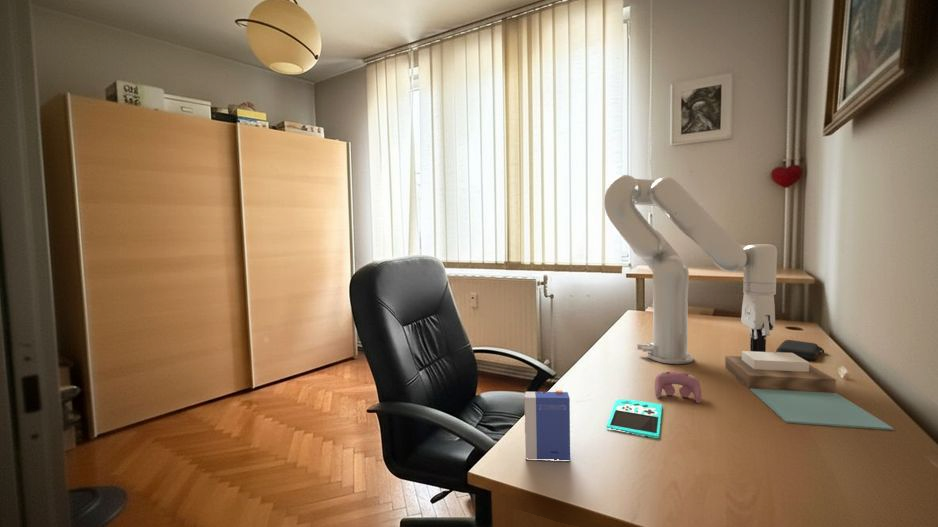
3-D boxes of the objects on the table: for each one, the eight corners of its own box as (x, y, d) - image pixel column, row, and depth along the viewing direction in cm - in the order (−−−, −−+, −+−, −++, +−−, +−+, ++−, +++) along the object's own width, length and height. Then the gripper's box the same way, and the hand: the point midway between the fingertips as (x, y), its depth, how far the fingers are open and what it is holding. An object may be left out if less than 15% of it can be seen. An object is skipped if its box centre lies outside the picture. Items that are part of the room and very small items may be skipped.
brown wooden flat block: (749, 389, 101) (749, 375, 101) (725, 367, 117) (725, 355, 116) (835, 393, 97) (835, 379, 97) (798, 371, 112) (799, 358, 112)
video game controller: (700, 405, 97) (699, 375, 99) (702, 403, 93) (701, 372, 95) (654, 399, 101) (654, 370, 103) (654, 397, 97) (654, 367, 99)
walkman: (568, 453, 75) (567, 390, 74) (570, 462, 72) (569, 396, 71) (524, 452, 76) (523, 389, 75) (525, 460, 73) (523, 395, 72)
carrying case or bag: (820, 364, 118) (825, 352, 128) (820, 354, 118) (825, 343, 128) (774, 357, 126) (783, 346, 136) (775, 347, 125) (783, 337, 136)
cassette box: (754, 369, 105) (754, 360, 105) (741, 359, 113) (741, 351, 113) (808, 371, 102) (809, 362, 102) (792, 361, 110) (792, 352, 110)
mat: (786, 422, 84) (786, 420, 84) (749, 389, 101) (749, 388, 101) (893, 430, 79) (893, 428, 79) (836, 394, 96) (836, 393, 96)
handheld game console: (663, 409, 93) (663, 403, 93) (660, 442, 79) (660, 435, 79) (616, 402, 97) (616, 396, 97) (605, 432, 83) (605, 425, 83)
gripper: (733, 284, 123) (732, 344, 125) (756, 292, 109) (754, 359, 110) (762, 284, 121) (760, 345, 123) (788, 292, 107) (786, 360, 108)
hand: (757, 351), depth 116 cm, fingers closed
